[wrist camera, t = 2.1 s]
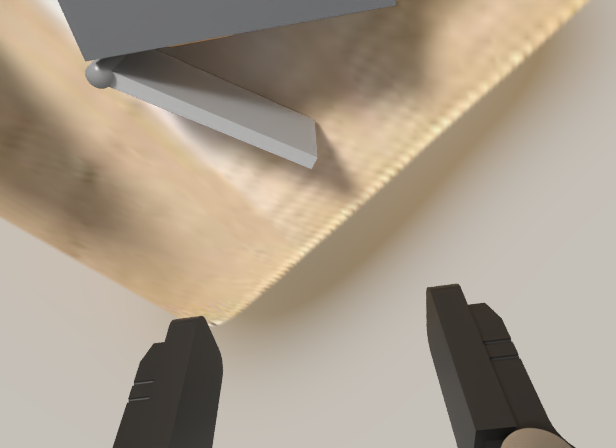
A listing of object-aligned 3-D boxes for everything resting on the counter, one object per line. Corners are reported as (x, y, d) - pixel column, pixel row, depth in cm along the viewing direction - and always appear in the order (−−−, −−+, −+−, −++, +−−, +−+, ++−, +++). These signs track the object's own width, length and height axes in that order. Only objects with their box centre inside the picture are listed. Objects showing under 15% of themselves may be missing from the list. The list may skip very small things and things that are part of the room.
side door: (316, 116, 29) (319, 156, 25) (305, 135, 30) (307, 178, 25) (121, 29, 25) (87, 59, 21) (116, 54, 26) (82, 87, 22)
